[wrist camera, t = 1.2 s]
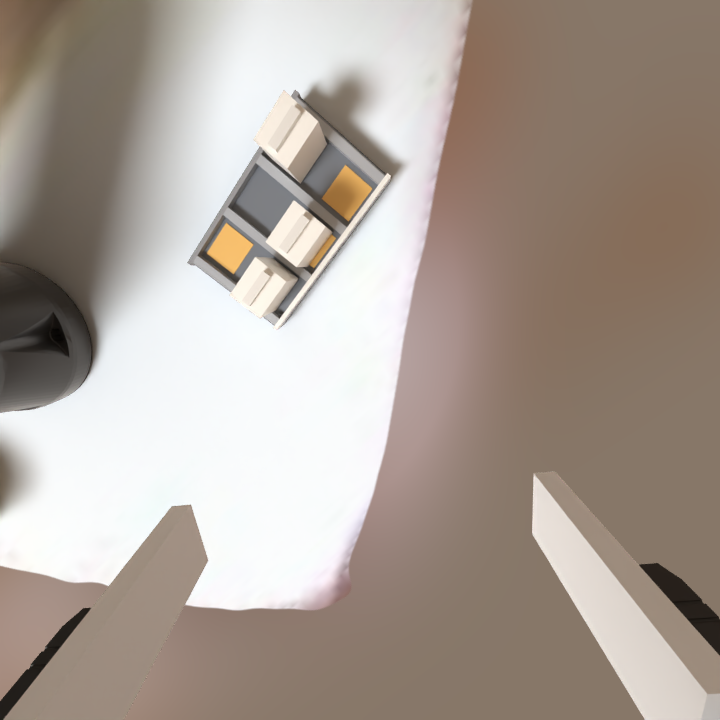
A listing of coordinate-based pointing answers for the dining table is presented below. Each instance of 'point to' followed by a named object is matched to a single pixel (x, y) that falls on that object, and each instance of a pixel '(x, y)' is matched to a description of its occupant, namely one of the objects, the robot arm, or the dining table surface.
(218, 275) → the switch bank
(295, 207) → the tab
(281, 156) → the tab
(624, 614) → the robot arm
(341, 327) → the dining table surface
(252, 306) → the tab
